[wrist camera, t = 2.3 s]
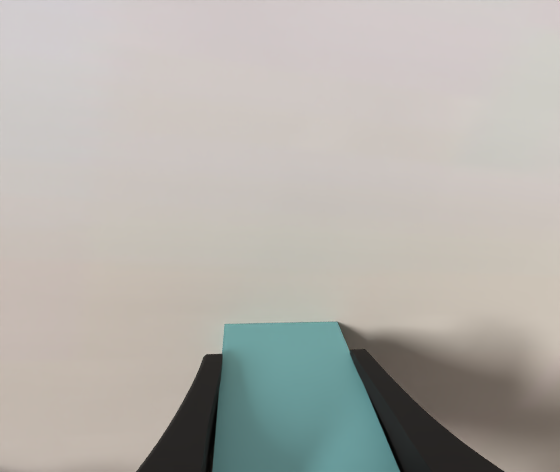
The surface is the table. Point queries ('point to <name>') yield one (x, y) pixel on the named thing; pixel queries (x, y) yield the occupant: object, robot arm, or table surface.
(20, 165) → the table surface
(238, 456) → the teal domino
